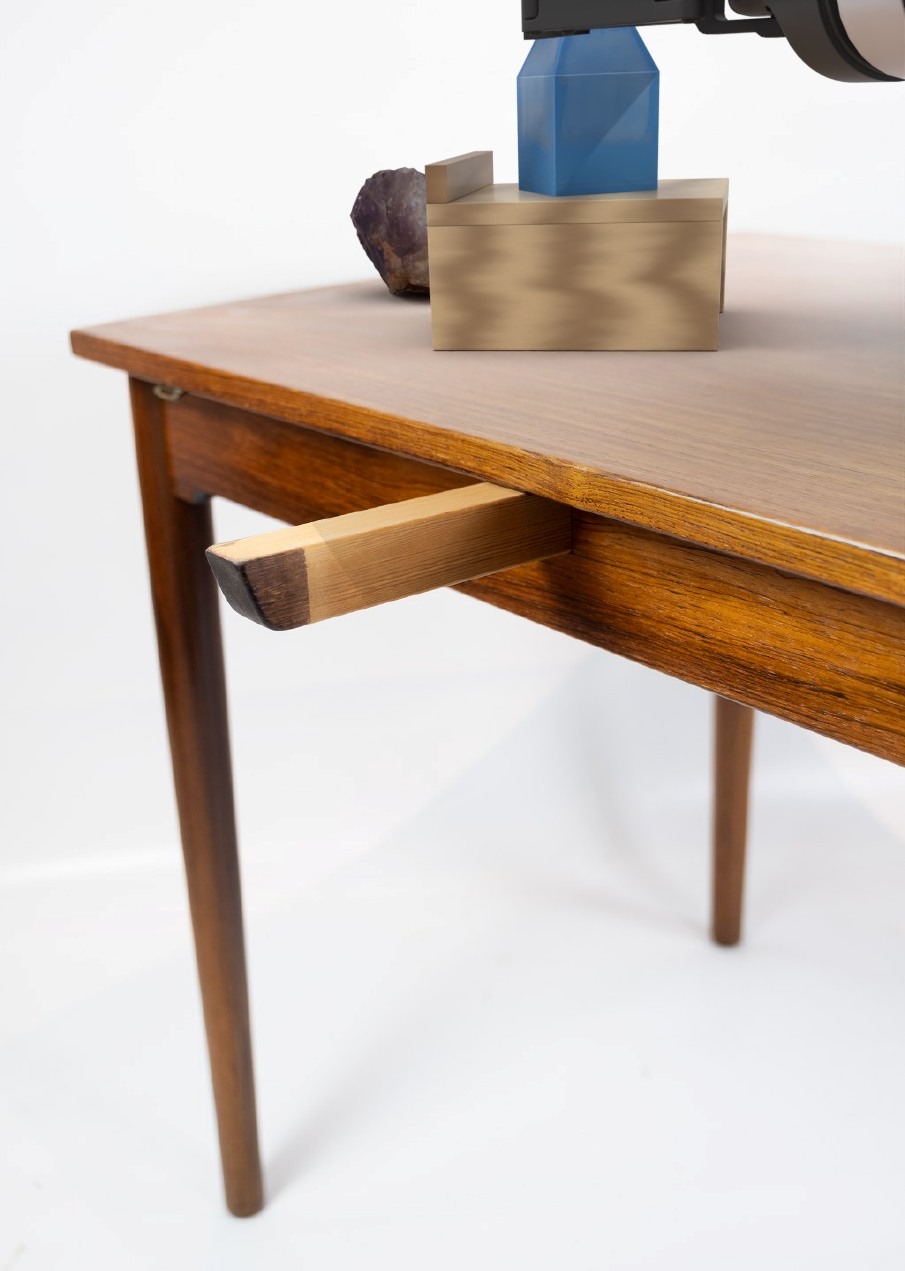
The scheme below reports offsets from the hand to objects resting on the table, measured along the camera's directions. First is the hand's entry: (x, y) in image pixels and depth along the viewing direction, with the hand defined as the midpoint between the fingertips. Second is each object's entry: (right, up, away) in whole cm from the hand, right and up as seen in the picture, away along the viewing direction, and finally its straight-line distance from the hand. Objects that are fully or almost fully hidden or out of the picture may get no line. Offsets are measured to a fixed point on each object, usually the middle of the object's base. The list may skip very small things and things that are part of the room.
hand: (657, 5), depth 67 cm
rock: (-13, -7, +31) cm, 34 cm away
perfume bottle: (-2, -6, +11) cm, 13 cm away
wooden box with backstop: (-2, -13, +14) cm, 19 cm away
